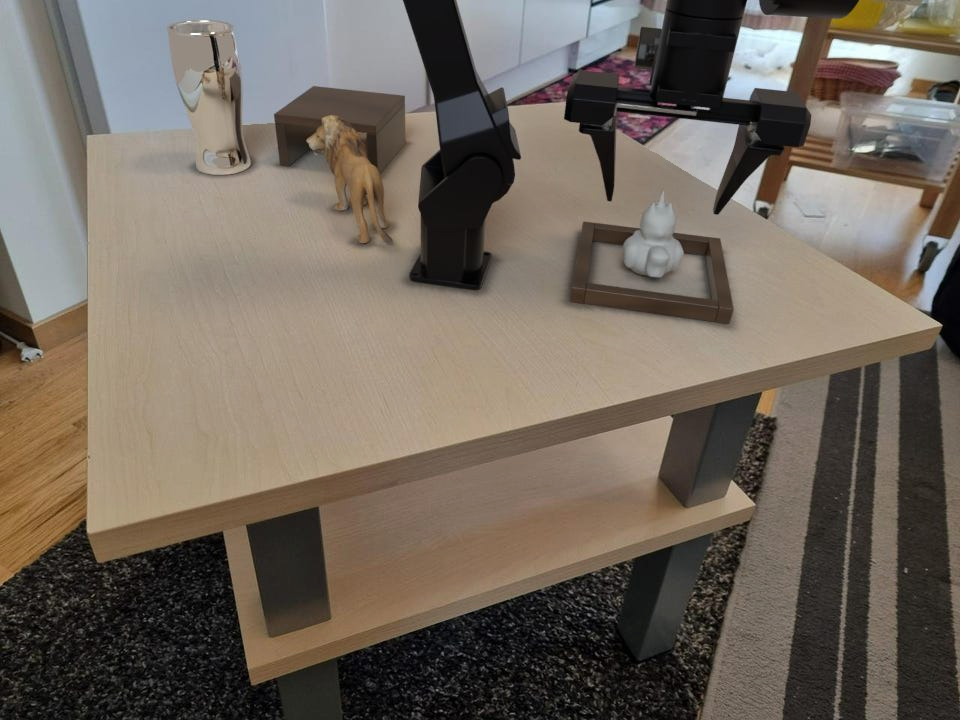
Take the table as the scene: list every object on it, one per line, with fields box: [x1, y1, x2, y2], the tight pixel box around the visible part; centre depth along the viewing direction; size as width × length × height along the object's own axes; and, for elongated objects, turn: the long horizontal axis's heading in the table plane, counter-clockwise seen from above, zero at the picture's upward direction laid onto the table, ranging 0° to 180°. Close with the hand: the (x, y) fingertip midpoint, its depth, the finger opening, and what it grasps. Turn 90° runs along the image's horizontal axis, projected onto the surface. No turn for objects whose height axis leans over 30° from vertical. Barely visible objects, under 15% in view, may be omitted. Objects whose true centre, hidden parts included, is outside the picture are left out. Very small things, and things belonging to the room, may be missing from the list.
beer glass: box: [166, 19, 252, 176], centre depth 79 cm, size 7×7×15 cm
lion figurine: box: [306, 115, 394, 244], centre depth 71 cm, size 15×5×9 cm, turn 33°
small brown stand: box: [273, 85, 407, 175], centre depth 86 cm, size 12×12×6 cm
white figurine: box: [622, 190, 685, 279], centre depth 64 cm, size 5×7×8 cm
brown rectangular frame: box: [569, 221, 734, 325], centre depth 66 cm, size 14×14×2 cm
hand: (662, 206), depth 63 cm, fingers open, 9 cm apart
